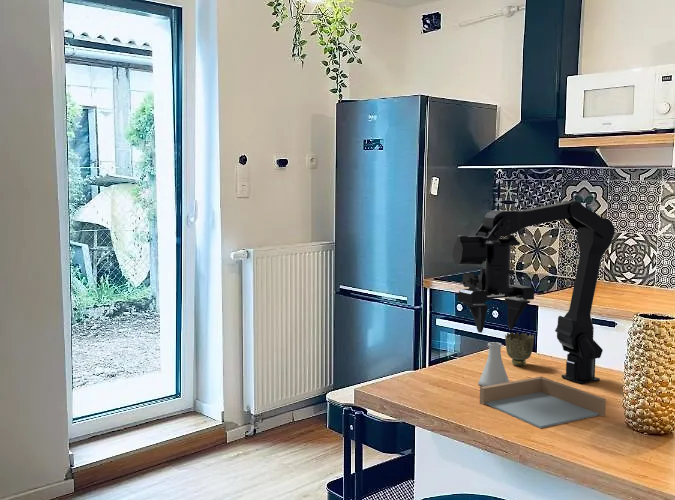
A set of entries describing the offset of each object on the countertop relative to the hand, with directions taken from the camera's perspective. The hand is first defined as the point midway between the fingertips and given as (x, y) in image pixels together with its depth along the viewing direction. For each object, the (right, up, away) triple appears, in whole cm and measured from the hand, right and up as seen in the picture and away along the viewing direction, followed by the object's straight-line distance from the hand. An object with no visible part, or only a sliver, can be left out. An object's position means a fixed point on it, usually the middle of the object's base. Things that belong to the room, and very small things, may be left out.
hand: (495, 330), depth 151 cm
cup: (+11, -12, +19) cm, 25 cm away
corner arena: (+6, -15, -16) cm, 22 cm away
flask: (0, -13, +1) cm, 13 cm away
